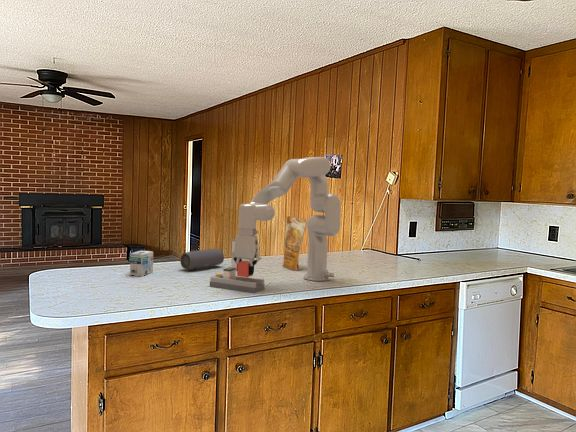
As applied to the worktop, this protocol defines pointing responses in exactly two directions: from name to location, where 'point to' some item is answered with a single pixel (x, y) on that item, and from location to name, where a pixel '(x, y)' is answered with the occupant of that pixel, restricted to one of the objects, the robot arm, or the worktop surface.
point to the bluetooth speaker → (201, 259)
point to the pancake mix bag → (293, 241)
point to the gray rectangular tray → (237, 283)
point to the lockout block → (243, 269)
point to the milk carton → (233, 263)
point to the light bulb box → (141, 263)
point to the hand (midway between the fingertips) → (245, 273)
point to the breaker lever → (229, 273)
